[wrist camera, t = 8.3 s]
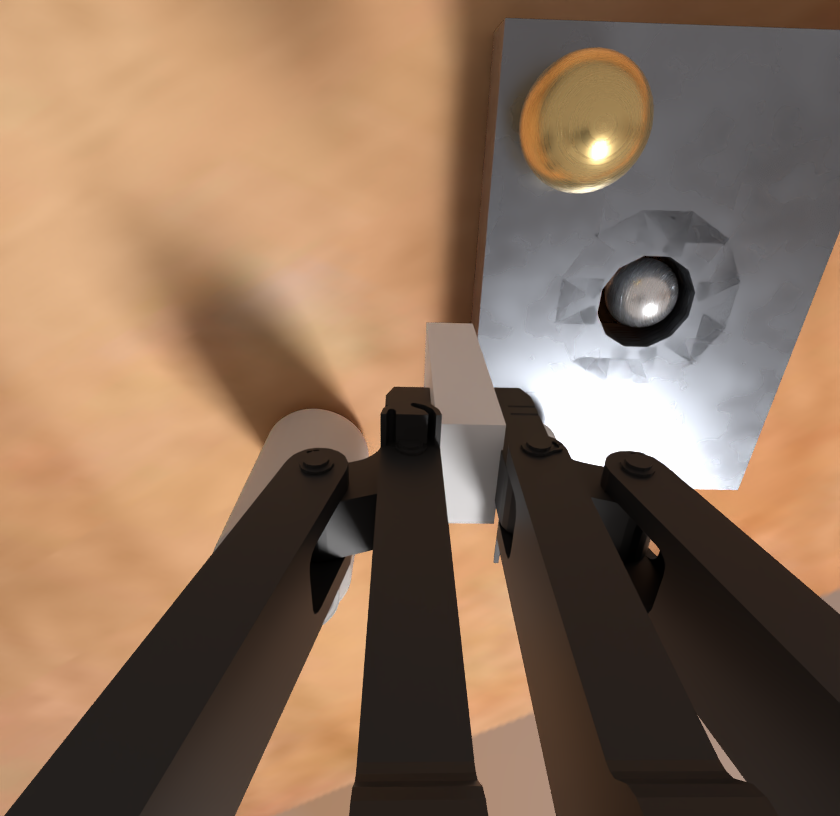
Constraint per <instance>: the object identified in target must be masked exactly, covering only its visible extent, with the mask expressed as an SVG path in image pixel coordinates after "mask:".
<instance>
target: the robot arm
mask: <svg viewBox="0 0 840 816" xmlns="http://www.w3.org/2000/svg"><path fill="white" fill-rule="evenodd" d="M495 509H497V513H498V517H499V522H498V530H497V537H496V545H495V553H494V563H498V561H499V556H500V555H501V560H502V565H503V569H504V574H505V579H506V583H507V588H508V593H509V597H510V602H511V607H512V612H513V616H514V621H515V626H516V630H517V635H518V640H519V644H520V649H521V654H522V658H523V663H524V668H525V672H526V677H527V682H528V686H529V691H530V696H531V700H532V705H533V710H534V715H535V719H536V724H537V729H538V733H539V738H540V743H541V747H542V752H543V757H544V761H545V766H546V770H547V775H548V780H549V785H550V789H551V794H552V799H553V803H554V808H555V813H556V816H840V614H839V613H838V612H836V611H835V610H834V609H833V608H832V607H831V606H829V605H828V604H827V603H826V602H825V601H824V600H822V599H821V598H820V597H819V596H818V595H817V594H815V593H814V592H813V591H812V590H811V589H810V588H808V587H807V586H806V585H805V584H804V583H803V582H801V581H800V580H799V579H798V578H797V577H796V576H794V575H793V574H792V573H791V572H790V571H789V570H787V569H786V568H785V567H784V566H783V565H782V564H780V563H779V562H778V561H777V560H776V559H774V558H773V557H772V556H771V555H770V554H769V553H767V552H766V551H765V550H764V549H763V548H762V547H760V546H759V545H758V544H757V543H756V542H755V541H753V540H752V539H751V538H750V537H749V536H748V535H746V534H745V533H744V532H743V531H742V530H741V529H739V528H738V527H737V526H736V525H735V524H734V523H732V522H731V521H730V520H729V519H728V518H727V517H725V516H724V515H723V514H722V513H721V512H720V511H718V510H717V509H716V508H715V507H714V506H713V505H711V504H710V503H709V502H708V501H707V500H706V499H704V498H703V497H702V496H701V495H700V494H699V493H697V492H696V491H695V490H694V489H693V488H692V487H690V486H689V485H688V484H687V483H686V482H685V481H683V480H682V479H681V478H680V477H679V476H678V475H676V474H675V473H674V472H673V471H672V470H671V469H669V468H668V467H667V466H666V465H665V464H663V463H662V462H660V461H659V460H657V459H656V458H654V457H652V456H649V455H646V454H645V453H642V452H638V451H637V452H636V451H617V452H613V453H610V454H609V455H608V456H607V457H606V459H605V463H604V466H600V465H595V464H590V463H585V462H581V461H577V460H574V459H572V458H571V456H570V454H569V452H568V449H567V448H566V447H565V446H564V444H563V443H562V442H560V441H558V440H556V439H555V438H553V437H550V436H548V434H547V431H546V429H545V427H544V425H543V423H542V420H541V418H540V416H538V412H537V409H536V408H535V405H534V403H533V401H532V398H531V396H529V395H528V394H527V393H526V392H524V391H523V390H522V389H520V388H498V387H493V384H492V381H491V378H490V375H489V372H488V369H487V366H486V363H485V360H484V357H483V354H482V351H481V348H480V345H479V341H478V338H477V335H476V332H475V329H474V326H473V323H429V322H426V348H425V373H424V387H394V388H393V389H392V390H391V391H390V392H389V393H388V394H387V395H386V404H385V408H383V410H382V412H381V448H380V449H379V450H378V452H376V453H375V454H373V455H372V456H370V457H367V458H365V459H362V460H358V461H353V462H348V461H347V459H346V457H345V455H343V454H342V453H340V452H339V451H336V450H333V449H329V448H312V449H311V448H310V449H306V450H303V451H300V452H298V453H295V454H294V455H292V456H291V457H290V458H289V459H288V460H287V461H286V462H285V463H284V464H283V466H282V467H281V468H280V469H279V471H278V472H277V473H276V474H275V476H274V477H273V478H272V480H271V481H270V482H269V483H268V485H267V486H266V487H265V488H264V490H263V491H262V492H261V493H260V495H259V496H258V497H257V498H256V500H255V501H254V502H253V503H252V505H251V506H250V507H249V508H248V510H247V511H246V512H245V514H244V515H243V516H242V517H241V519H240V520H239V521H238V522H237V524H236V525H235V526H234V527H233V529H232V530H231V531H230V532H229V534H228V535H227V536H226V537H225V539H224V540H223V541H222V542H221V544H220V545H219V546H218V547H217V549H216V550H215V551H214V553H213V554H212V555H211V556H210V558H209V559H208V560H207V561H206V563H205V564H204V565H203V566H202V568H201V569H200V570H199V571H198V573H197V574H196V575H195V576H194V578H193V579H192V580H191V581H190V583H189V584H188V585H187V586H186V588H185V589H184V590H183V592H182V593H181V594H180V595H179V597H178V598H177V599H176V600H175V602H174V603H173V604H172V605H171V607H170V608H169V609H168V610H167V612H166V613H165V614H164V615H163V617H162V618H161V619H160V620H159V622H158V623H157V624H156V625H155V627H154V628H153V629H152V631H151V632H150V633H149V634H148V636H147V637H146V638H145V639H144V641H143V642H142V643H141V644H140V646H139V647H138V648H137V649H136V651H135V652H134V653H133V654H132V656H131V657H130V658H129V659H128V661H127V662H126V663H125V664H124V666H123V667H122V668H121V670H120V671H119V672H118V673H117V675H116V676H115V677H114V678H113V680H112V681H111V682H110V683H109V685H108V686H107V687H106V688H105V690H104V691H103V692H102V693H101V695H100V696H99V697H98V698H97V700H96V701H95V702H94V704H93V705H92V706H91V707H90V709H89V710H88V711H87V712H86V714H85V715H84V716H83V717H82V719H81V720H80V721H79V722H78V724H77V725H76V726H75V727H74V729H73V730H72V731H71V732H70V734H69V735H68V736H67V737H66V739H65V740H64V741H63V743H62V744H61V745H60V746H59V748H58V749H57V750H56V751H55V753H54V754H53V755H52V756H51V758H50V759H49V760H48V761H47V763H46V764H45V765H44V766H43V768H42V769H41V770H40V771H39V773H38V774H37V775H36V776H35V778H34V779H33V780H32V782H31V783H30V784H29V785H28V787H27V788H26V789H25V790H24V792H23V793H22V794H21V795H20V797H19V798H18V799H17V800H16V802H15V803H14V804H13V805H12V807H11V808H10V809H9V810H8V812H7V813H6V814H5V815H4V816H235V814H236V812H237V810H238V808H239V805H240V803H241V801H242V799H243V797H244V794H245V792H246V790H247V788H248V786H249V784H250V781H251V779H252V777H253V775H254V773H255V771H256V768H257V766H258V764H259V762H260V760H261V757H262V755H263V753H264V751H265V749H266V747H267V744H268V742H269V740H270V738H271V736H272V733H273V731H274V729H275V727H276V725H277V723H278V720H279V718H280V716H281V714H282V712H283V710H284V707H285V705H286V703H287V701H288V699H289V696H290V694H291V692H292V690H293V688H294V686H295V683H296V681H297V679H298V677H299V675H300V673H301V670H302V668H303V666H304V664H305V662H306V659H307V657H308V655H309V653H310V651H311V649H312V646H313V644H314V642H315V640H316V638H317V636H318V633H319V631H320V629H321V627H322V625H323V622H324V620H325V618H326V616H327V614H328V612H329V609H330V607H331V605H332V603H333V601H334V599H335V596H336V594H337V592H338V590H339V588H340V585H341V583H342V581H343V579H344V577H345V575H346V572H347V570H348V568H349V566H350V563H351V558H352V555H354V554H358V553H362V552H366V551H370V550H373V555H372V569H371V582H370V596H369V609H368V622H367V636H366V649H365V662H364V676H363V689H362V702H361V716H360V729H359V742H358V756H357V768H356V777H355V783H354V785H353V788H352V795H351V803H350V813H349V816H488V812H487V805H486V798H485V795H484V791H483V787H482V785H481V784H480V783H479V781H478V780H477V776H476V771H475V763H474V754H473V745H472V736H471V727H470V718H469V708H468V699H467V690H466V681H465V672H464V663H463V653H462V644H461V635H460V626H459V617H458V607H457V598H456V589H455V580H454V571H453V561H452V552H451V543H450V534H449V525H448V523H489V524H494V517H495ZM650 540H652V541H653V542H654V543H655V544H656V545H657V547H658V548H659V550H660V552H659V555H658V556H656V555H655V554H654V553H653V552H652V551H651V550H650V549H649V548H648V546H649V543H650ZM698 716H699V718H700V719H701V720H702V721H703V723H704V724H705V726H706V727H707V728H708V730H709V731H710V733H711V734H712V735H713V737H714V738H715V739H716V741H717V742H718V743H719V745H720V746H721V747H722V749H723V750H724V752H725V753H726V754H727V756H728V757H729V758H730V760H731V761H732V762H733V764H734V765H735V767H736V768H737V769H738V771H739V772H740V773H741V775H742V776H743V778H744V779H745V780H746V782H744V781H740V780H737V779H734V778H733V777H732V776H730V775H729V773H727V772H726V770H725V769H724V767H723V765H722V764H721V762H720V760H719V759H718V757H717V754H716V752H715V750H714V748H713V746H712V744H711V742H710V740H709V738H708V736H707V734H706V732H705V730H704V728H703V726H702V724H701V722H700V720H699V718H698Z"/></svg>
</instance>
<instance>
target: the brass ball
mask: <svg viewBox="0 0 840 816" xmlns="http://www.w3.org/2000/svg"><path fill="white" fill-rule="evenodd" d="M653 118H654V104H653V96H652V92H651V89H650V86H649V83H648V80H647V79H646V77H645V75H644V73H643V72H642V70H641V69H640V68H639V66H638V65H637V64H636V63H635V62H634V61H633V60H631V59H630V58H628V57H627V56H626V55H624V54H622V53H619V52H617V51H615V50H611V49H608V48H600V47H594V48H585V49H580V50H576V51H574V52H571V53H568V54H566V55H564V56H563V57H561V58H559V59H558V60H556V61H555V62H553V63H552V64H551V65H550V66H549V67H548V68H547V69H545V70H544V71H543V72H542V74H541V75H540V76H539V77H538V78H537V80H536V81H535V82H534V84H533V85H532V87H531V89H530V91H529V93H528V94H527V97H526V99H525V102H524V104H523V108H522V111H521V116H520V122H519V138H520V145H521V150H522V153H523V156H524V158H525V161H526V163H527V165H528V166H529V168H530V169H531V171H532V172H533V173H534V174H535V175H536V177H537V178H538V179H540V180H541V181H542V182H543V183H544V184H546V185H548V186H549V187H551V188H553V189H556V190H558V191H562V192H566V193H575V194H578V193H588V192H593V191H596V190H599V189H602V188H604V187H606V186H608V185H610V184H612V183H614V182H615V181H617V180H618V179H619V178H621V177H622V176H623V175H624V174H625V173H626V172H627V171H628V170H629V169H630V168H631V167H632V166H633V165H634V164H635V162H636V161H637V160H638V158H639V157H640V155H641V154H642V152H643V150H644V148H645V146H646V144H647V142H648V139H649V136H650V133H651V129H652V125H653Z"/></svg>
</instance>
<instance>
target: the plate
mask: <svg viewBox="0 0 840 816" xmlns="http://www.w3.org/2000/svg"><path fill="white" fill-rule="evenodd" d="M594 47H600V48H608V49H611V50H615V51H617V52H619V53H622V54H624V55H626V56H627V57H628V58H630V59H631V60H633V61H634V62H635V63H636V64H637V65H638V66H639V68H640V69H641V70H642V72H643V73H644V75H645V77H646V79H647V80H648V83H649V86H650V89H651V92H652V96H653V104H654V118H653V125H652V129H651V133H650V136H649V139H648V142H647V144H646V146H645V148H644V150H643V152H642V154H641V155H640V157H639V158H638V160H637V161H636V162H635V164H634V165H633V166H632V167H631V168H630V169H629V170H628V171H627V172H626V173H625V174H624V175H623V176H622V177H621V178H619V179H618V180H617V181H615V182H614V183H612V184H610V185H608V186H606V187H604V188H602V189H599V190H596V191H593V192H588V193H578V194H575V193H566V192H562V191H558V190H556V189H553V188H551V187H549V186H548V185H546V184H544V183H543V182H542V181H541V180H540V179H538V178H537V177H536V175H535V174H534V173H533V172H532V171H531V169H530V168H529V166H528V165H527V163H526V161H525V158H524V156H523V153H522V150H521V145H520V138H519V122H520V116H521V111H522V108H523V104H524V102H525V99H526V97H527V94H528V93H529V91H530V89H531V87H532V85H533V84H534V82H535V81H536V80H537V78H538V77H539V76H540V75H541V74H542V72H543V71H544V70H545V69H547V68H548V67H549V66H550V65H551V64H552V63H553V62H555V61H556V60H558V59H559V58H561V57H563V56H564V55H566V54H568V53H571V52H574V51H576V50H580V49H585V48H594ZM839 231H840V30H827V29H799V28H771V27H743V26H715V25H687V24H659V23H631V22H603V21H575V20H547V19H519V18H505V19H504V20H503V21H502V22H501V24H500V25H499V26H498V27H497V29H496V30H495V31H494V38H493V51H492V64H491V76H490V89H489V102H488V114H487V127H486V140H485V152H484V165H483V178H482V191H481V203H480V216H479V229H478V241H477V254H476V267H475V279H474V292H473V305H472V318H471V323H473V326H474V329H475V332H476V335H477V338H478V341H479V345H480V348H481V351H482V354H483V357H484V360H485V363H486V366H487V369H488V372H489V375H490V378H491V381H492V384H493V387H498V388H520V389H522V390H523V391H524V392H526V393H527V394H528V395H529V396H531V398H532V401H533V403H534V405H535V408H536V409H537V412H538V416H540V418H541V420H542V423H543V424H545V425H547V426H548V427H549V428H550V429H551V430H552V431H553V433H554V435H555V436H556V439H557V440H558V441H560V442H562V443H563V444H564V446H565V447H566V448H567V449H568V452H569V454H570V456H571V458H572V459H574V460H577V461H581V462H585V463H590V464H595V465H600V466H604V463H605V459H606V457H607V456H608V455H609V454H610V453H613V452H617V451H636V452H637V451H638V452H642V453H645V454H646V455H649V456H652V457H654V458H656V459H657V460H659V461H660V462H662V463H663V464H665V465H666V466H667V467H668V468H669V469H671V470H672V471H673V472H674V473H675V474H676V475H678V476H679V477H680V478H681V479H682V480H683V481H685V482H686V483H687V484H688V485H689V486H690V487H692V488H693V489H718V490H738V488H739V486H740V483H741V481H742V478H743V476H744V473H745V471H746V468H747V465H748V463H749V460H750V458H751V455H752V453H753V450H754V448H755V445H756V443H757V440H758V437H759V435H760V432H761V430H762V427H763V425H764V422H765V420H766V417H767V415H768V412H769V409H770V407H771V404H772V402H773V399H774V397H775V394H776V392H777V389H778V387H779V384H780V382H781V379H782V376H783V374H784V371H785V369H786V366H787V364H788V361H789V359H790V356H791V354H792V351H793V348H794V346H795V343H796V341H797V338H798V336H799V333H800V331H801V328H802V326H803V323H804V320H805V318H806V315H807V313H808V310H809V308H810V305H811V303H812V300H813V298H814V295H815V292H816V290H817V287H818V285H819V282H820V280H821V277H822V275H823V272H824V270H825V267H826V265H827V262H828V259H829V257H830V254H831V252H832V249H833V247H834V244H835V242H836V239H837V237H838V234H839ZM643 256H660V258H661V261H662V262H663V263H664V264H666V265H667V266H668V267H669V268H670V269H671V270H672V271H673V273H674V274H675V276H676V279H677V281H678V287H679V293H678V298H677V301H676V304H675V306H674V308H673V309H672V311H671V312H670V313H669V314H668V315H667V316H666V317H665V318H664V319H663V320H661V321H660V322H658V323H656V324H654V325H651V326H647V327H638V328H637V327H630V326H627V325H624V324H617V323H602V322H600V320H599V317H598V315H597V313H598V308H599V303H600V298H601V293H602V289H603V288H604V287H605V285H606V284H607V283H608V282H609V280H610V279H611V278H612V277H613V275H614V274H615V273H616V272H617V270H618V269H619V268H621V267H623V266H625V265H627V264H629V263H631V262H633V261H635V260H637V259H639V258H641V257H643Z"/></svg>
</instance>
